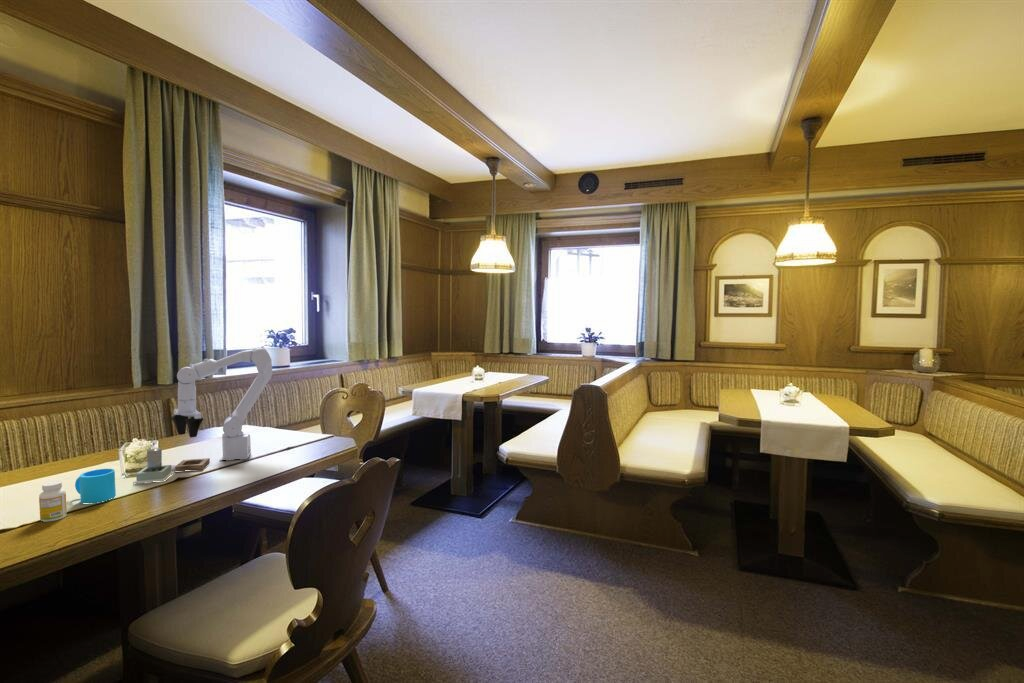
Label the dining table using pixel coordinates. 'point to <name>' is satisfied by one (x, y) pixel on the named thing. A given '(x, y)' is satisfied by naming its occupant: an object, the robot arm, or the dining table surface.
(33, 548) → the dining table surface
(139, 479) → the grey square tray
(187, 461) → the socket
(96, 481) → the mug
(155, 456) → the peg
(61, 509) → the supplement bottle
